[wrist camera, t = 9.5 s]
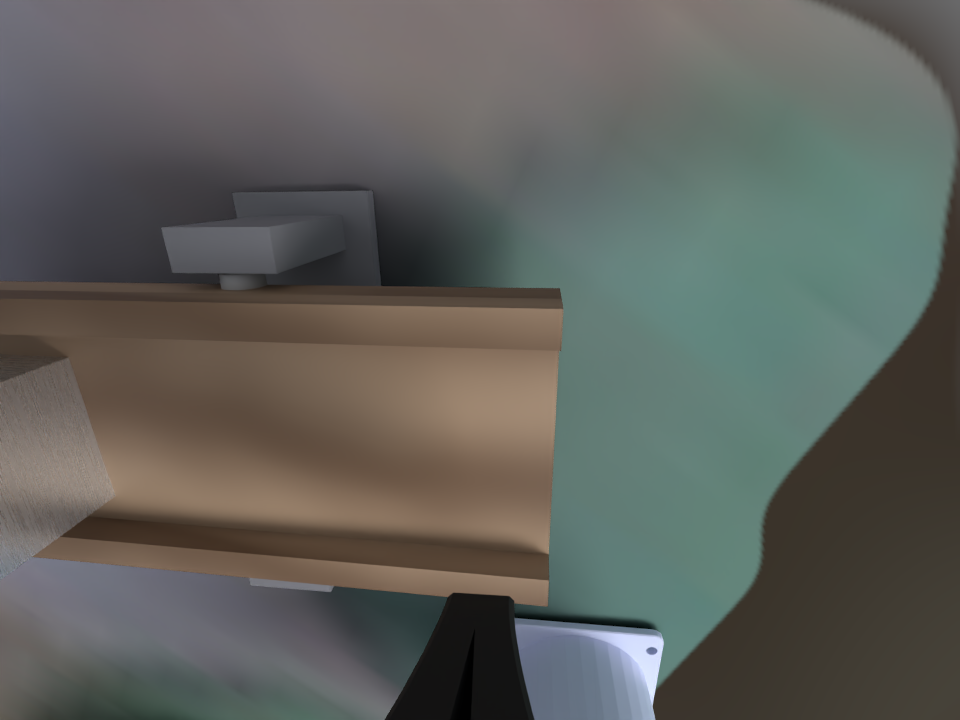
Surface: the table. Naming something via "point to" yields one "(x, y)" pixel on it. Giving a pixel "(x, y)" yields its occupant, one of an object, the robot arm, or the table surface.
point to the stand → (285, 251)
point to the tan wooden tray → (312, 428)
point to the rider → (44, 457)
